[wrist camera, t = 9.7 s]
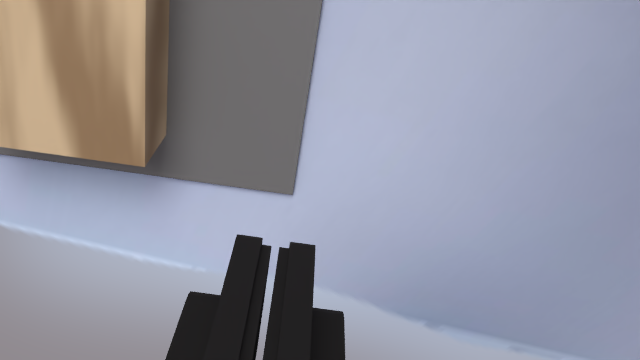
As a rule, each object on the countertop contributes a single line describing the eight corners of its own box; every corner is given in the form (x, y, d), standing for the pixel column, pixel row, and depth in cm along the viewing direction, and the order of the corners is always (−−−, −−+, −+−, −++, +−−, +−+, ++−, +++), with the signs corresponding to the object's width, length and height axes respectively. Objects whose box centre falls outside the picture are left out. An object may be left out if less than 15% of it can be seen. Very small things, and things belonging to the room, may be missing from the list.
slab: (146, -75, 23) (-91, -115, 23) (144, 166, 29) (-46, 140, 28) (171, -79, 27) (-30, -113, 27) (166, 134, 33) (-1, 110, 32)
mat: (339, -116, 27) (340, -116, 27) (292, 191, 35) (292, 194, 35) (-204, -214, 25) (-211, -216, 25) (-118, 134, 33) (-123, 137, 33)
